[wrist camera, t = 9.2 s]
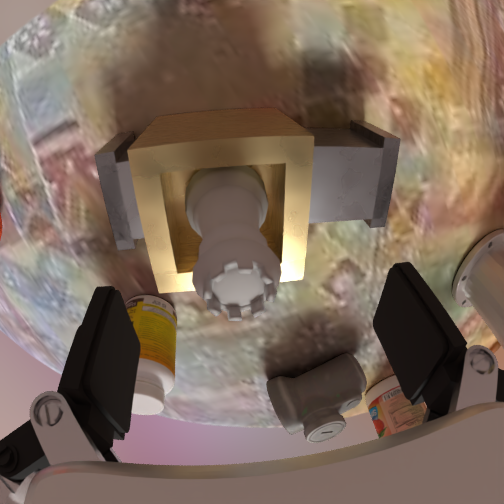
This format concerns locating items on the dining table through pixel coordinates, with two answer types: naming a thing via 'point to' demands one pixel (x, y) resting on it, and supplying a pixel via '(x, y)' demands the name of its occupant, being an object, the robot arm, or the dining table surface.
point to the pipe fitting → (318, 398)
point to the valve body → (257, 158)
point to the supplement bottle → (153, 351)
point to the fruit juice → (392, 408)
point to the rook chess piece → (231, 241)
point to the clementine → (0, 226)
